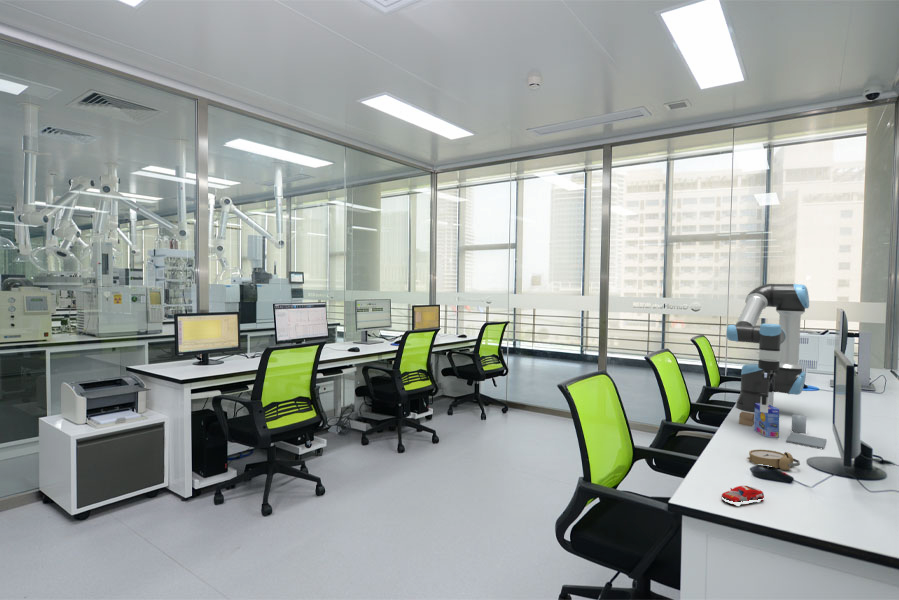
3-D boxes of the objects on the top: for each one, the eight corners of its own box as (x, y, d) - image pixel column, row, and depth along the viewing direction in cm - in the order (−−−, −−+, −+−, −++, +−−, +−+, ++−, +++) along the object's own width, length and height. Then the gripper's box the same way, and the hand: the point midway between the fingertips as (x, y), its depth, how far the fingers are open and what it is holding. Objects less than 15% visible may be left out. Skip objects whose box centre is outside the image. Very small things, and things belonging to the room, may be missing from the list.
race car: (733, 508, 135) (733, 495, 135) (717, 500, 140) (717, 487, 140) (767, 502, 139) (768, 489, 139) (751, 495, 144) (751, 482, 144)
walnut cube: (741, 422, 222) (741, 411, 222) (754, 424, 219) (754, 413, 218) (739, 424, 218) (739, 413, 218) (751, 426, 215) (752, 415, 215)
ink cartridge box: (752, 430, 209) (754, 397, 209) (766, 430, 209) (767, 398, 208) (765, 437, 200) (766, 403, 199) (779, 438, 199) (780, 403, 198)
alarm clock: (751, 447, 178) (800, 450, 168) (754, 461, 178) (803, 464, 168) (744, 455, 170) (795, 458, 160) (747, 469, 170) (798, 473, 160)
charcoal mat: (790, 434, 204) (790, 432, 204) (826, 441, 196) (826, 439, 196) (786, 442, 194) (786, 440, 194) (823, 449, 186) (823, 447, 186)
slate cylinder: (792, 429, 211) (792, 413, 211) (806, 431, 208) (806, 416, 208) (790, 431, 208) (791, 416, 208) (804, 434, 204) (805, 418, 204)
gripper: (763, 356, 215) (761, 403, 215) (753, 361, 196) (750, 412, 197) (783, 358, 210) (781, 406, 210) (774, 364, 191) (772, 416, 192)
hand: (766, 409), depth 204 cm, fingers open, 13 cm apart
